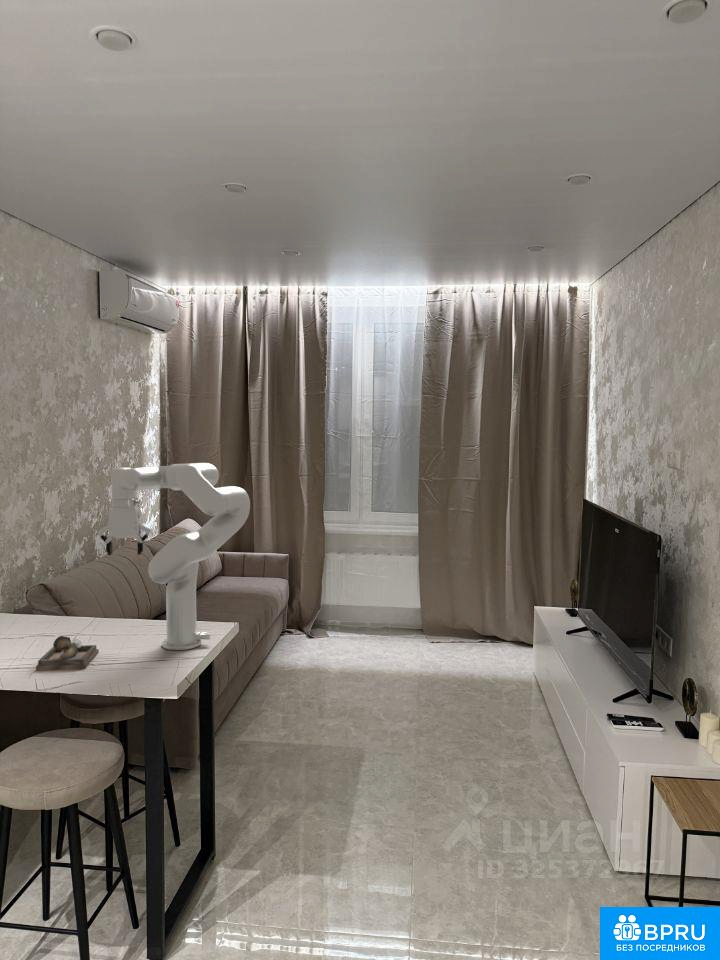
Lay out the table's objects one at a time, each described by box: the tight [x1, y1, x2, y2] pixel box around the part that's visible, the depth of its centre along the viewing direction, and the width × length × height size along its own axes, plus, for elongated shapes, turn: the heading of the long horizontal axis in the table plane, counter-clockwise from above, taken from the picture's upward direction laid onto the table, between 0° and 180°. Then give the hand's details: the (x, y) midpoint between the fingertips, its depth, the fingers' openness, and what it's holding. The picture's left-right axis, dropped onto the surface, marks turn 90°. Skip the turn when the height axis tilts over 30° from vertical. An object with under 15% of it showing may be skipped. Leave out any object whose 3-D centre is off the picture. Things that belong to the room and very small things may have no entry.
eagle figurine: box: [52, 635, 83, 659], centre depth 216 cm, size 8×7×9 cm
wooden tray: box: [35, 644, 100, 671], centre depth 218 cm, size 14×15×3 cm
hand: (125, 554), depth 242 cm, fingers open, 9 cm apart
